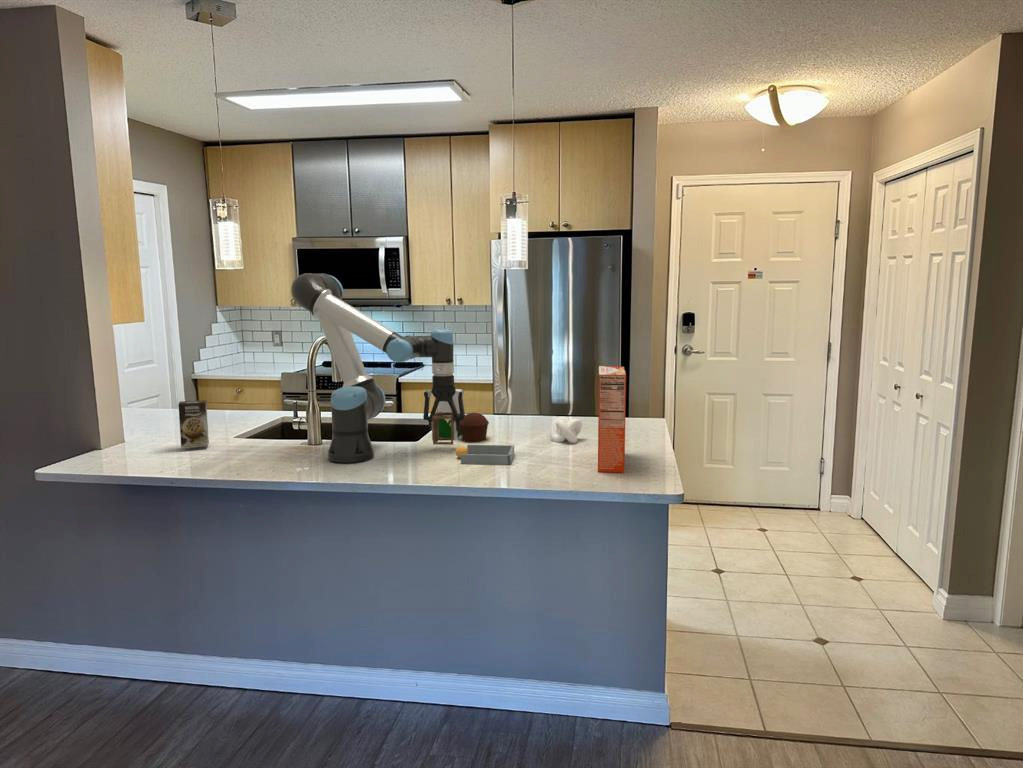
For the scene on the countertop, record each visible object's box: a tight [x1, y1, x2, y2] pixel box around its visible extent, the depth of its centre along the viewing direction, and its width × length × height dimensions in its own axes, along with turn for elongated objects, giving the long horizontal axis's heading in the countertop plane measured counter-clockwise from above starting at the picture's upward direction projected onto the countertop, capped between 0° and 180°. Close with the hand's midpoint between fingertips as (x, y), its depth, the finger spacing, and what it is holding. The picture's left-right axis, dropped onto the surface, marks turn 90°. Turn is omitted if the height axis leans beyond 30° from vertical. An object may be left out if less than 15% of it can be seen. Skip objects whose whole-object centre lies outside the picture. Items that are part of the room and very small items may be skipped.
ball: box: [455, 445, 468, 459], centre depth 224 cm, size 4×4×4 cm
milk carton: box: [436, 388, 463, 438], centre depth 256 cm, size 9×9×20 cm
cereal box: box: [597, 365, 627, 473], centre depth 215 cm, size 23×8×30 cm, turn 173°
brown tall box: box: [178, 400, 210, 449], centre depth 244 cm, size 9×6×16 cm
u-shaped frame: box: [460, 444, 515, 466], centre depth 223 cm, size 16×14×3 cm
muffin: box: [460, 412, 490, 443], centre depth 251 cm, size 12×11×10 cm
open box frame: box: [432, 411, 456, 446], centre depth 235 cm, size 7×7×10 cm
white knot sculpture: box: [549, 416, 583, 444], centre depth 247 cm, size 11×12×9 cm
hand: (444, 439), depth 236 cm, fingers closed on open box frame, 7 cm apart
